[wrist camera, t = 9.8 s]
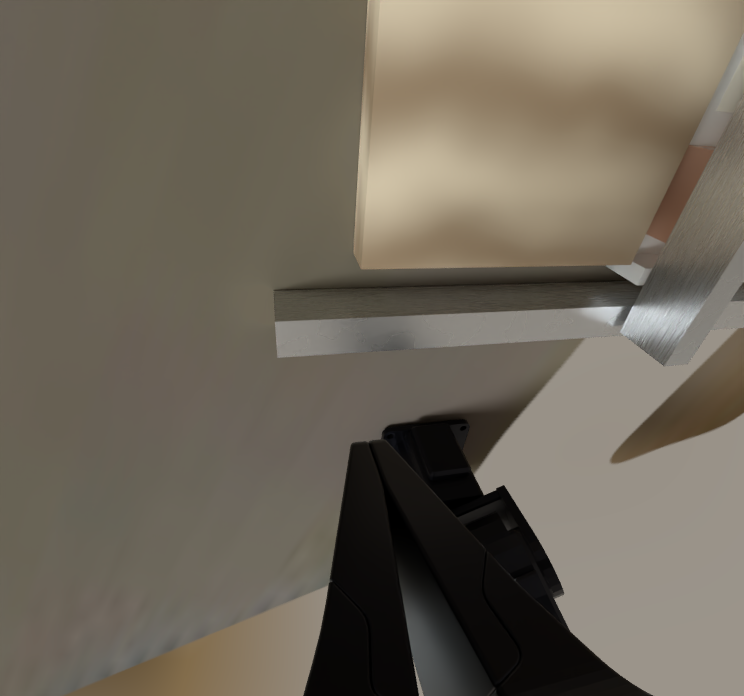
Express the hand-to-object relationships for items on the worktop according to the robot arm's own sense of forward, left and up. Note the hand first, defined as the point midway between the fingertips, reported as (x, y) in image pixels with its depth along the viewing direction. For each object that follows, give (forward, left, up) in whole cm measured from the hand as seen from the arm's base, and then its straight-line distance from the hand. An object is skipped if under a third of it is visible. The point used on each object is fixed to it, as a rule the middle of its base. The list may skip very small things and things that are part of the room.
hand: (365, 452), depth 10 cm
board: (+6, -10, -12) cm, 17 cm away
